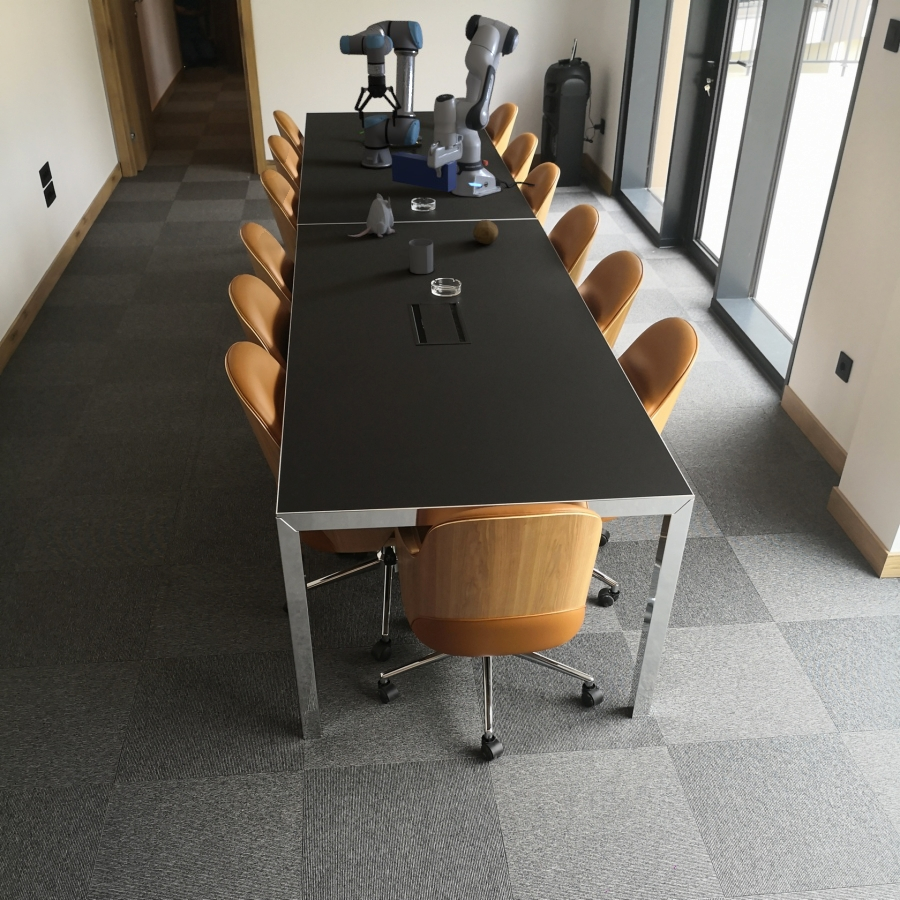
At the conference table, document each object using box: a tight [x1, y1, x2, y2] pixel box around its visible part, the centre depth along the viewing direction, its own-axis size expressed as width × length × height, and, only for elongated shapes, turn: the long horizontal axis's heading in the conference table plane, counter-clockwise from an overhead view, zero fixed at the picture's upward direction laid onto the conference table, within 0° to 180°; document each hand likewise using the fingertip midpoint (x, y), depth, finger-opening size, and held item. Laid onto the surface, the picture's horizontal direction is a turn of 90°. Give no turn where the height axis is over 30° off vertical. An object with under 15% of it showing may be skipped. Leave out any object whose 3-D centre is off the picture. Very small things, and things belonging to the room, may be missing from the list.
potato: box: [472, 219, 499, 245], centre depth 330 cm, size 10×14×8 cm
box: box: [391, 151, 457, 193], centre depth 353 cm, size 28×6×11 cm, turn 57°
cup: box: [408, 237, 434, 275], centre depth 305 cm, size 8×8×10 cm
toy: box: [347, 192, 396, 238], centre depth 333 cm, size 9×24×15 cm, turn 137°
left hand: (378, 126), depth 379 cm, fingers open, 13 cm apart
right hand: (444, 174), depth 348 cm, fingers closed on box, 6 cm apart
